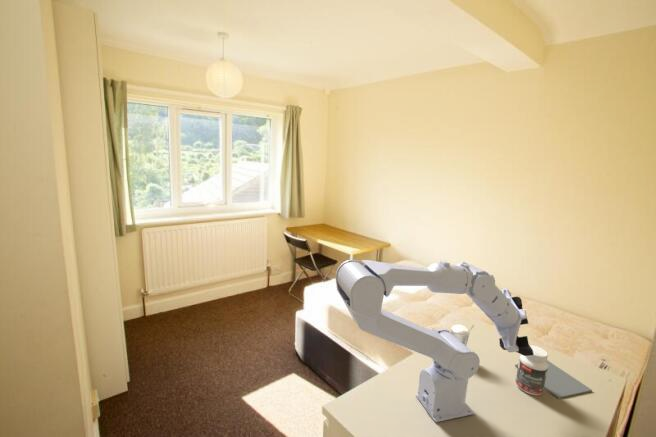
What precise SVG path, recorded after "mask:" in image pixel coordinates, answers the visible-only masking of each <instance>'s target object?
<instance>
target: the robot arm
mask: <svg viewBox="0 0 656 437" xmlns="http://www.w3.org/2000/svg"><path fill="white" fill-rule="evenodd" d="M335 284H336V291H337V292H338V294H339V295H340V297H341V299H342V300H343V302H344V305H345V306H346V308H347V310H348V312H349V314H350V315H351V317H352V319H353V322H355V324H356V325H357V327H358V328H359V329H360V330H361V331H363V332H365V333H367V334H370V335H373V336H375V337H378V338H380V339H382V340H385V341H388V342H390V343H393V344H395V345H397V346H401V347H403V348H406V349H408V350H410V351H413V352H416V353H418V354H421V355H422V356H426V357H429V358H430V359H432V362H433V363H432V364H431V365H429V367H427V368H424V369H422V370H421V371H420V373H419V378H418V379H419V380H418V391H417V392H416V393H415V397H416V398H417V399H418V401H419V402H420V404H421V405H422V406H423V408H424V409H425V410H426V411H427V413H428V414H429V416H430V417H431V418H432V420H433V421H434V423H435V422H436V423H439V422H444V421H447V420H448V421H449V420H451V419H457V418H462V417H466V416H471V415H474V410H473V409H472V408H471V407H470V406H469V405H468V404H467V402H466V399H467V390H468V382H469V379H470V378H472V377H473V376H474V375H475V374H476V373H477V372H478V370H479V367H480V364H481V362H480V357H479V355H478V354H477V353H476V352H475V351H473V350H471V349H470V348H469V347H468V346H467V345H466V346H465V345H464V344H463V343H462V342H461V341H459V340H458V339H457V338H456V337H455V336H453V335H452V331H450V330H449V329H445V328H439V329H437V328H433V327H430V328H429V329H428V328H426V327H425V326H423V325H419V324H418V323H415V322H413V321H411V320H408V319H406V318H404V317H401V316H399V315H397V314H394V313H392V312H390V311H388V310H385V309H382V306H383V302H384V297H386V298H388V297H389V296H390V295H391V292H392V291H393V289H394V287H396V286H397V287H398V286H399V287H401V286H402V287H403V286H405V287H406V286H407V287H412V286H413V287H414V286H415V287H426V288H427V289H428V290H429V291H430V292H432V293H440V294H454V295H455V294H456V295H464V294H465V295H467V296H468V297H469V298H470V300H472V302H473V303H474V304H475V305H476V306H477V307H478V308H479V309H480V310H481V311H482V312H483V313H484V314H485V315H486V317H488V319H489V320H491V321H492V323H493V326H494V327H495V329H496V332H497V333H498V335H499V337H500V338H498V339H499V340H498V341H499V346H500V348H501V349H502V350H504V351H507V352H508V353H517V354H520V355H524V356H530V355H534V354H533V350H532V348H531V347H530V345H531V344H529V338H528V335H526V336H525V335H524V336H518V335H519V331H520V326H521V325H522V326H523V325H528V324H529V320H528V317H527V310H525V309H524V308H523V302H522V298H521V297H520V296H512V293H511V292H510V290H509V289H508V288H504V289H500V288H499V287H498V286H497V285H496V280H495V277H494V275H493V274H490V273H489V272H487V271H486V270H483V269H481V268H479V267H477V266H474V265H472V264H470V263H468V262H467V263H466V262H465V261H463V262H458V264H450V262H448V261H446V260H440V261H439V263H438V262H436V263H435V262H433V263H431V264H429V265H428V266H427V267H426V268H425V267H419V266H412V265H411V266H410V265H405V264H404V265H403V264H398V263H397V264H396V263H395V264H394V263H389V262H383V261H382V262H381V261H375V260H370V259H362V260H361V261H359V260H357V259H347V260H345V261H343V262H342V263H341V264H340V265H339V266H338V267H337V269H336V271H335Z"/></svg>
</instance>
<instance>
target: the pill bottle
mask: <svg viewBox="0 0 656 437" xmlns="http://www.w3.org/2000/svg"><path fill="white" fill-rule="evenodd" d="M529 345H530V347H531V348H532V350H533V354H534V355H530V356H524V355H522V354H520V356H519V359H518V363H517V364H518V368H517V371H516V377H515V385H516V386H517V387H518V388H519V389H520V391H522V392H524V393H526V394H528V395H532V396H540V395H542V394H543V393H544V390H545V388H544V385H545V380H546V375H547V370H548V364H547V362H546V360H548V357H549V356H548V351H546V350H545V349H543V348H541V347H539V346H536V345H533V344H529Z"/></svg>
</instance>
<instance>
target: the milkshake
mask: <svg viewBox="0 0 656 437" xmlns="http://www.w3.org/2000/svg"><path fill="white" fill-rule="evenodd" d="M473 328H474V324H473V325H471V327H470V329H468V327H467V326H464V325H463V324H455V325H452V326H451V333H452V335H453V336H455V337H456V338H457V339H458V340H459V341H461V342H462V343H463V344H464V345H465V346H466V347H467V344H468V341H469V338H470V333H471V330H472V329H473Z"/></svg>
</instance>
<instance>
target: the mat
mask: <svg viewBox="0 0 656 437" xmlns="http://www.w3.org/2000/svg"><path fill="white" fill-rule="evenodd" d="M546 362H547V364H548V370H547V375H546V380H545V385H544V390H546V391H547V392H548V393H550V394H551V395H553V397H555V398H556V399H558V400H559V399H564V398H568V397H572V396H578V395H581V394H587V393H590V392H592V391H593V389H591V388H590V387H588V386H586V385H585V384H584V383H582V381H579V380H578V379H576V378H575V377H573V376H572V375H570V374H569V373H567V372H566V371H565V370H563V369H562V368H560V367H559V366H557V365H555V364H554V363H553V362H550V361H549V360H548V359H547V360H546ZM518 364H519V363H516V364H515V365H514V367H516V368H517V369H518Z"/></svg>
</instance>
